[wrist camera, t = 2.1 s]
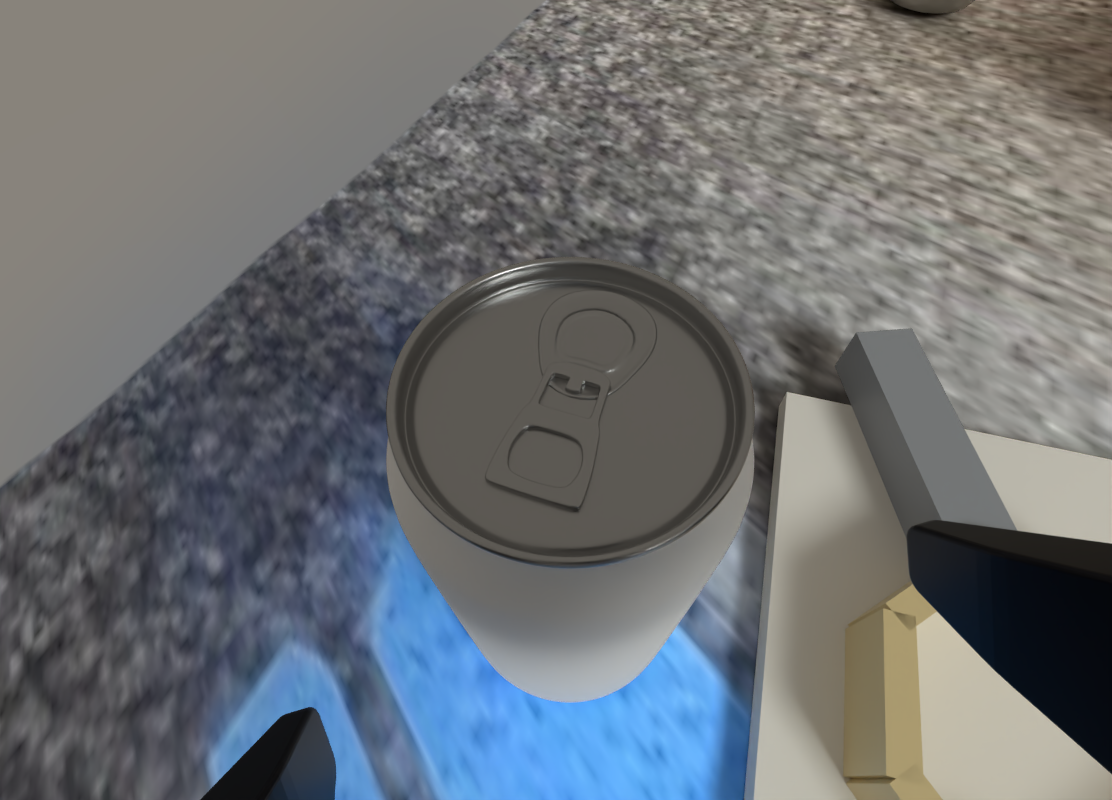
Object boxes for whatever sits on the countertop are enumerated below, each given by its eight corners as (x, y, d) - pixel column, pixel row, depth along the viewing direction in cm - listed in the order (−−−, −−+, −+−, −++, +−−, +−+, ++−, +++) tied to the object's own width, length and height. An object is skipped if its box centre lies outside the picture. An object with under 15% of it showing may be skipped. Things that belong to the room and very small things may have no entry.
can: (689, 534, 20) (810, 286, 10) (639, 740, 17) (745, 680, 7) (512, 478, 21) (463, 207, 11) (434, 659, 18) (268, 507, 8)
